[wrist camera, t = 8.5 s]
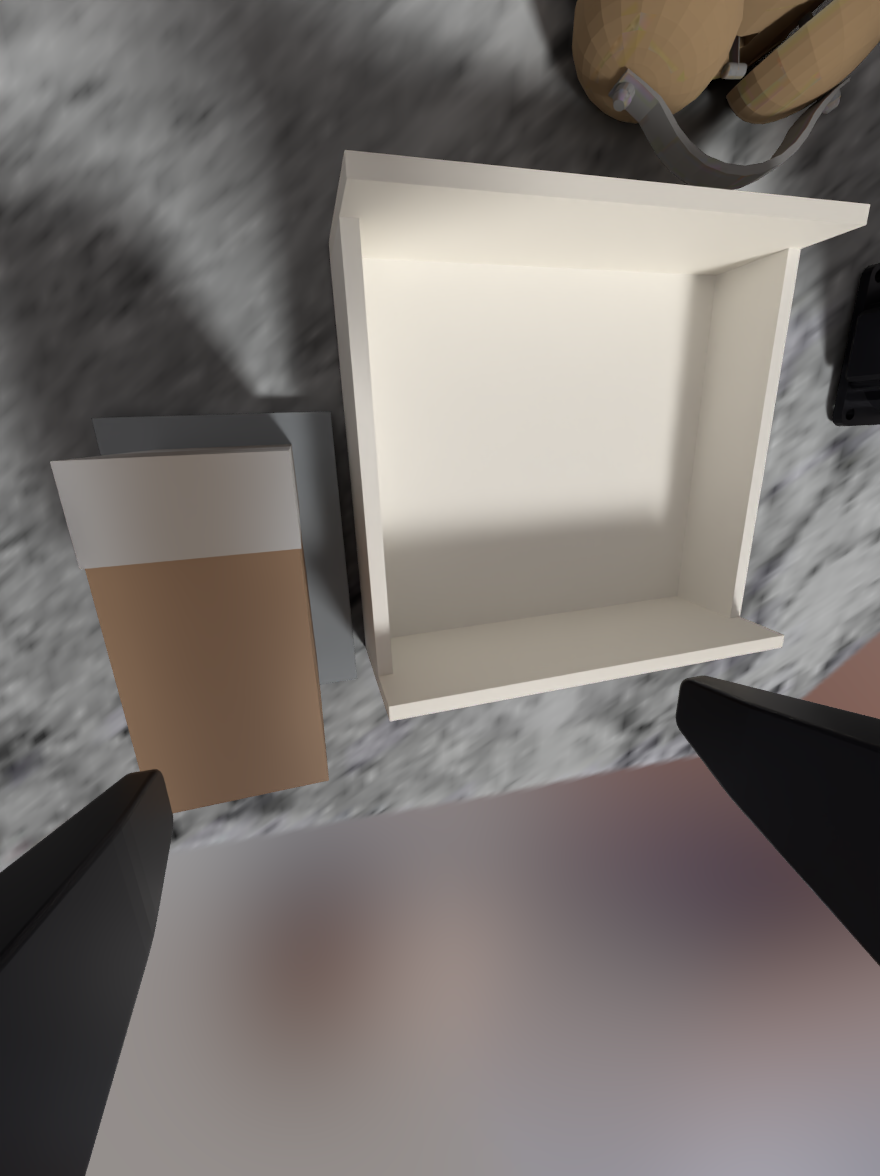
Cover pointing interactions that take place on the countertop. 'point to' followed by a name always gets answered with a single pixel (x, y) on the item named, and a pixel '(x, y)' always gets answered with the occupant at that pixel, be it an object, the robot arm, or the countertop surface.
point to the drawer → (556, 418)
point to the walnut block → (203, 613)
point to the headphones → (719, 68)
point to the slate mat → (314, 495)
